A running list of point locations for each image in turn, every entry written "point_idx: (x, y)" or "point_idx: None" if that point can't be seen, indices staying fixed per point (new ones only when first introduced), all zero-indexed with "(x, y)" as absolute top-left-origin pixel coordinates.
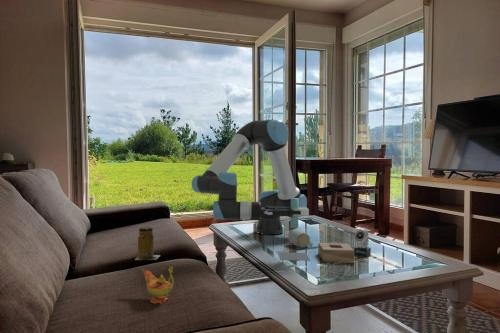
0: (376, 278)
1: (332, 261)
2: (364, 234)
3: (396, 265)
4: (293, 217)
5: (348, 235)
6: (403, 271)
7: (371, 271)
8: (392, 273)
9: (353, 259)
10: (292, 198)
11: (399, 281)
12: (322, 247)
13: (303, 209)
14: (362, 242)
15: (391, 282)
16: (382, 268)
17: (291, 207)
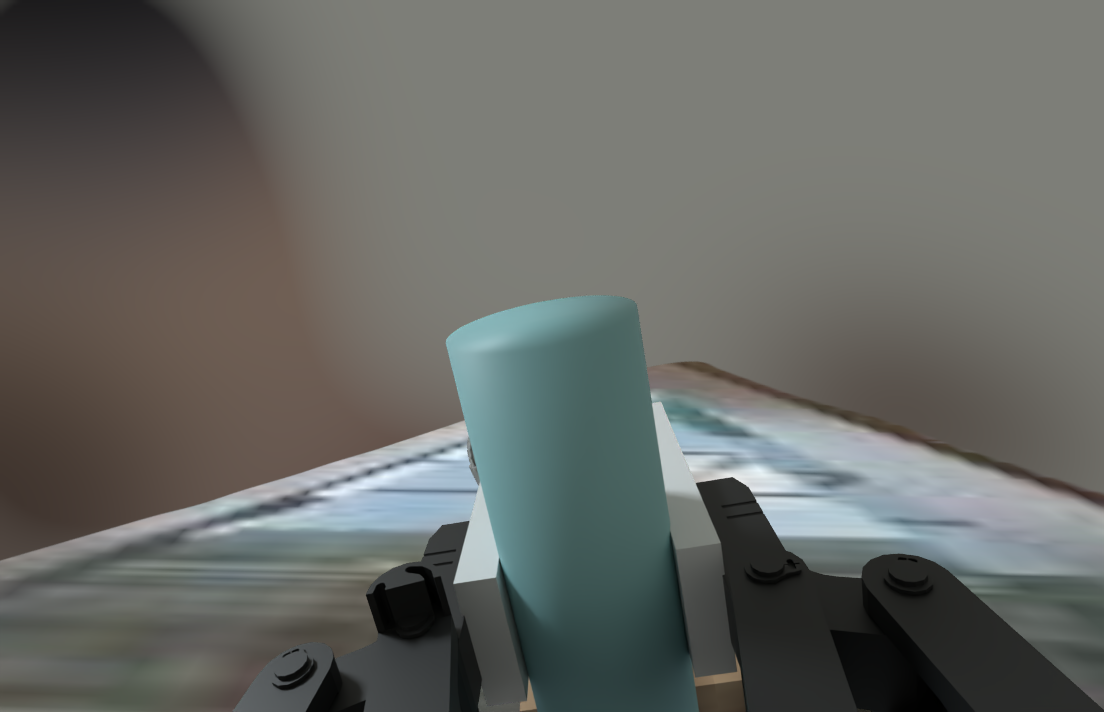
0: (1005, 516)
1: None
2: None
3: (709, 465)
4: (694, 696)
5: (82, 594)
6: (799, 452)
7: (876, 529)
8: (857, 475)
9: None
10: (548, 334)
11: (979, 462)
12: (708, 680)
13: (674, 440)
14: None
15: (1025, 479)
16: (787, 497)
17: (626, 550)
